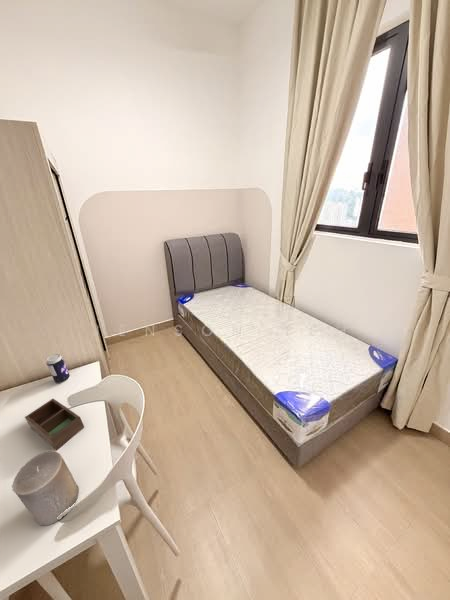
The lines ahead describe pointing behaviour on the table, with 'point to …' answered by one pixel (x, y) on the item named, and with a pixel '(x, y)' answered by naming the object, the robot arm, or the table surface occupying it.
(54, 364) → the beverage can
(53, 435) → the dark brown divided box
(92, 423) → the table surface
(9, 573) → the table surface
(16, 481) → the pillar candle
